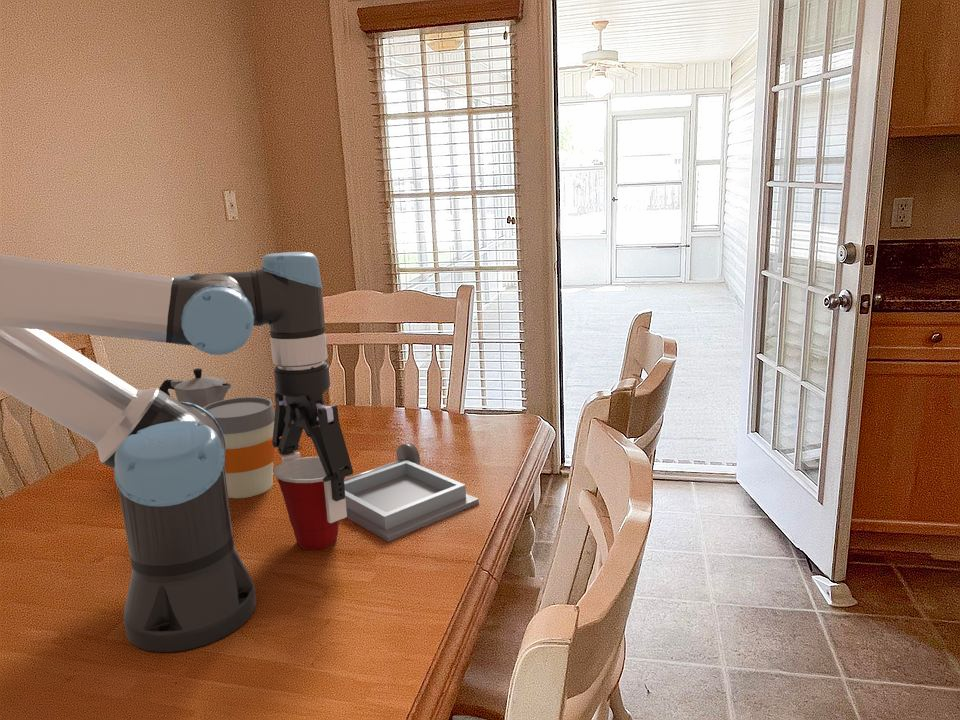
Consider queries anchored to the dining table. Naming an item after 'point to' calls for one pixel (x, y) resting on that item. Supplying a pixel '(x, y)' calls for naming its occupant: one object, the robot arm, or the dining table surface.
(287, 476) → the plastic cup
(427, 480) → the tray
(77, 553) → the dining table surface
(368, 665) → the dining table surface
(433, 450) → the dining table surface
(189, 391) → the coffeepot
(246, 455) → the reusable coffee cup
